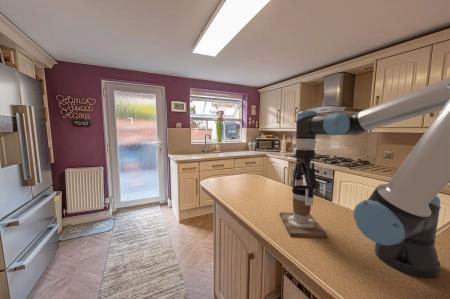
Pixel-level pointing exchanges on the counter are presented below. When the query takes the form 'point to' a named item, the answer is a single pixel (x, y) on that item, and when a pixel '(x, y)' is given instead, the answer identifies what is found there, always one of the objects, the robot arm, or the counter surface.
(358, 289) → the counter surface
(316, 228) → the board
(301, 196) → the coffee cup
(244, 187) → the counter surface
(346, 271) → the counter surface
